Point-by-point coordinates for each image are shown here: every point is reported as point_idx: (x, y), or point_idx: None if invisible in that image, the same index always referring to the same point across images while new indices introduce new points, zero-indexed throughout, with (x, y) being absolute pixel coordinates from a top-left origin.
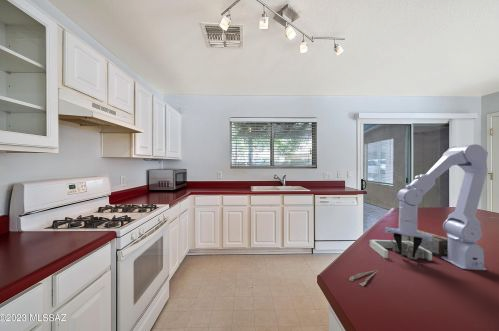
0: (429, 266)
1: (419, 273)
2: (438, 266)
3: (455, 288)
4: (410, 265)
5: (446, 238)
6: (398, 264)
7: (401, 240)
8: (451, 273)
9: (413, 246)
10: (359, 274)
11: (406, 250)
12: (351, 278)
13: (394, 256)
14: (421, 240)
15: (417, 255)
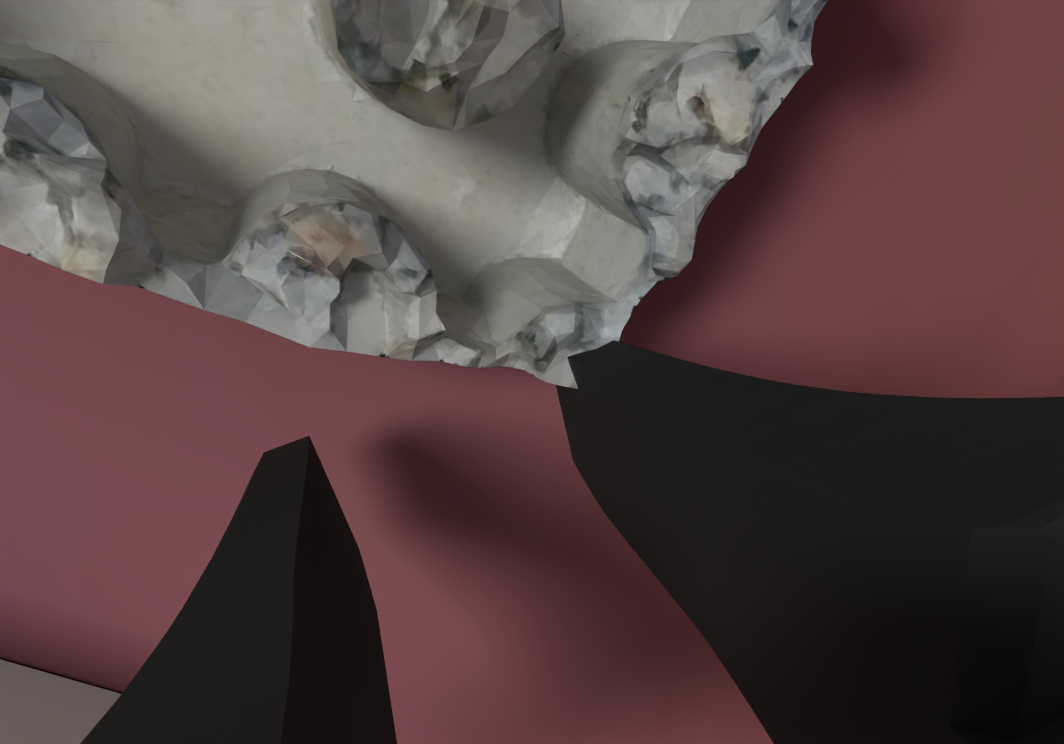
0: (784, 355)
1: (696, 706)
2: (900, 206)
3: None
4: (560, 599)
5: None
6: (423, 732)
7: (323, 737)
8: (1009, 334)
9: (765, 722)
10: None
11: (372, 265)
12: None
13: (174, 486)
14: None
15: (593, 80)
